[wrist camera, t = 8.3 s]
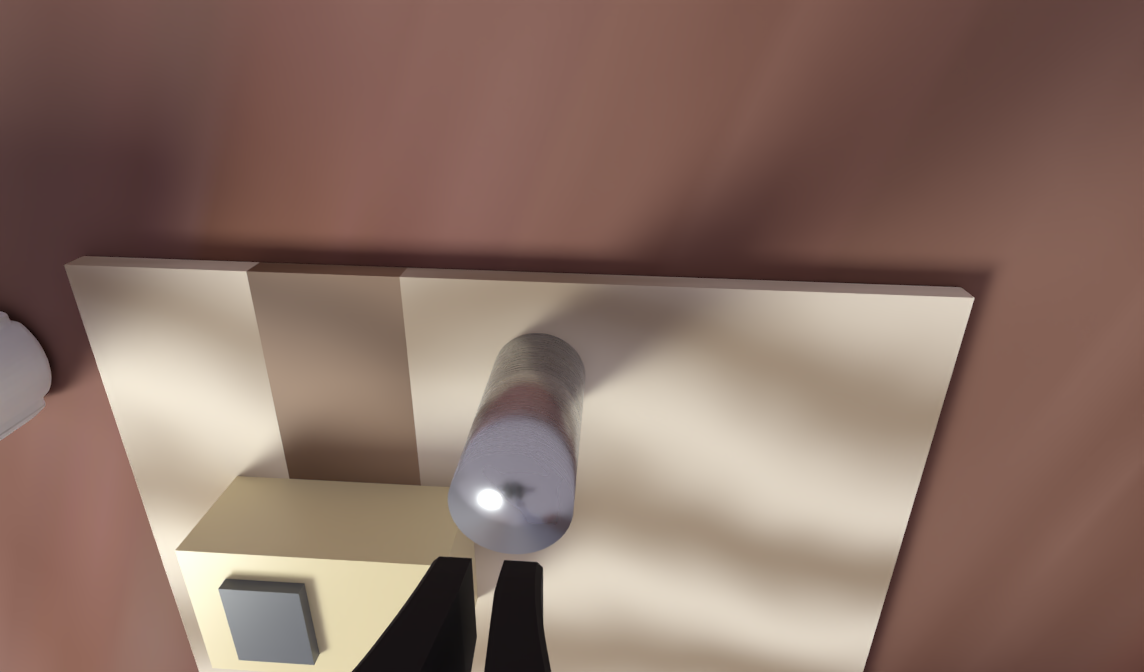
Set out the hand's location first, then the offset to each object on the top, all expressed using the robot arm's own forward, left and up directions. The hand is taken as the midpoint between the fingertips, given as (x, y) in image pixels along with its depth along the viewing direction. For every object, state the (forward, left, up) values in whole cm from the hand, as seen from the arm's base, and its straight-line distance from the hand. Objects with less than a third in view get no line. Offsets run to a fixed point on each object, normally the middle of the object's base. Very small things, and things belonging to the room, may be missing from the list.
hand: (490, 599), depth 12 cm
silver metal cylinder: (0, 0, -9) cm, 9 cm away
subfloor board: (-6, +1, -9) cm, 11 cm away
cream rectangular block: (-7, +6, -9) cm, 13 cm away
